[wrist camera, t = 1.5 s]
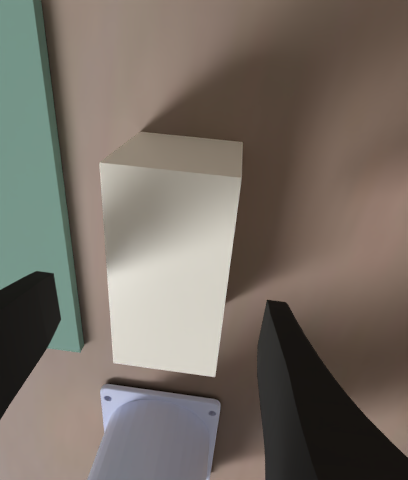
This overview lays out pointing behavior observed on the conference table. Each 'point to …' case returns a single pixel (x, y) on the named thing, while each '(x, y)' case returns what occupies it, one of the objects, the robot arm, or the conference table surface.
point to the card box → (169, 247)
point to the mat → (33, 168)
